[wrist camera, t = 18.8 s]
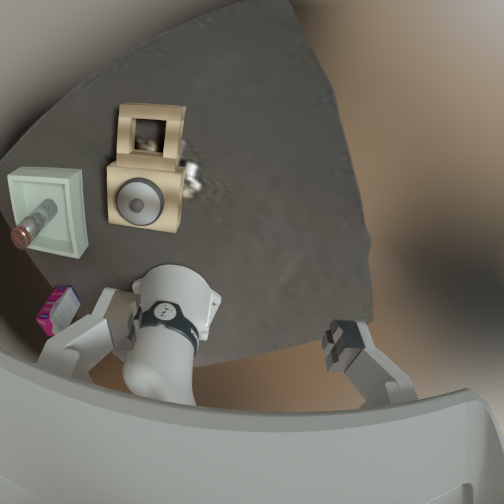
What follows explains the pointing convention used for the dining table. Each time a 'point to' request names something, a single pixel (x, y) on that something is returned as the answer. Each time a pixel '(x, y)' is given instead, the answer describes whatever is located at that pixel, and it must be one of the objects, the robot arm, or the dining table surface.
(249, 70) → the dining table surface
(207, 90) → the dining table surface
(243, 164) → the dining table surface
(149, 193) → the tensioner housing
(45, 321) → the supplement box
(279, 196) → the dining table surface
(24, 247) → the lock pin
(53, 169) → the tray
